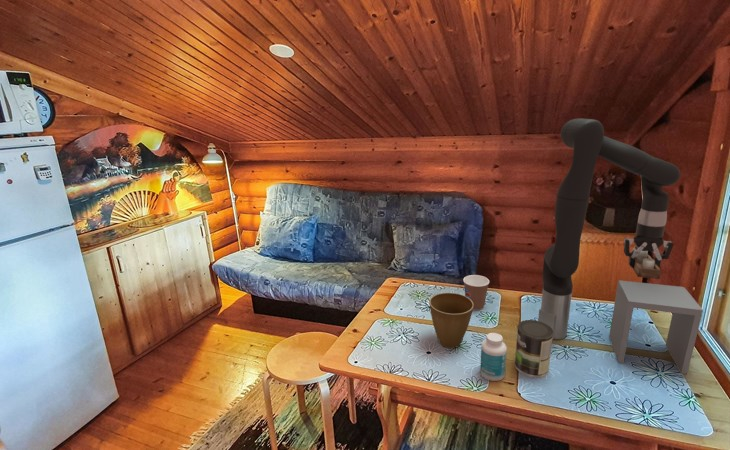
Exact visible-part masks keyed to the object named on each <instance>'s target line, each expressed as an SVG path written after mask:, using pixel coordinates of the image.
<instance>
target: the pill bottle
mask: <svg viewBox="0 0 730 450" xmlns="http://www.w3.org/2000/svg"><path fill="white" fill-rule="evenodd" d="M503 339H504V338H503V336H502V335H501V334H500V333H497V332H490V333H489V332H488V333H487V334H486V339H484V340H483V341H482V343H481V348H480V365H479V366H480V369H479V371H480V374H481V376H482V377H483V378H485V379H486V380H488V381H493V382H497V381H501V380H504V378H505V376H506V364H507V354H508V353H507V352H508V351H507V349H508V348H507V345H506V344H505V342H504V340H503Z"/></svg>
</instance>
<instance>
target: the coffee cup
mask: <svg viewBox="0 0 730 450" xmlns="http://www.w3.org/2000/svg"><path fill="white" fill-rule="evenodd" d="M462 281H463V286H464V287H463V288H464V296H466V297H468V298H469V299H471V301H472V302H473V310H472V311H481V310H483V309H484V307H485V305H486V300H487V299H486V298H487V294H488V289H489V284H490V280H489V279H488V278H487V277H486V276H483V275H479V274H471V275H466V276H464V278H463V280H462Z"/></svg>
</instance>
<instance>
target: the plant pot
mask: <svg viewBox="0 0 730 450" xmlns="http://www.w3.org/2000/svg"><path fill="white" fill-rule="evenodd" d="M429 310H430V316H431V320H432V324H433V329H434V331H435V335H436V337H437V339H438V343H439V344H440V345H441V346H443V347H445V348H448V349H454V348H457V347H460V345H461V343H462V341H463V339H464V336H465V335H466V332H467V330H468V327H469V324H470V323H471V322H470V321H471V319H472V318H471V317H472V313H473V311H474V310H473V302H472V301H471V299H469V298H468V297H466V296H465V294H460V293H455V292H441V293H436V294H435V295H433V296H431V297H430V299H429Z"/></svg>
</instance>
